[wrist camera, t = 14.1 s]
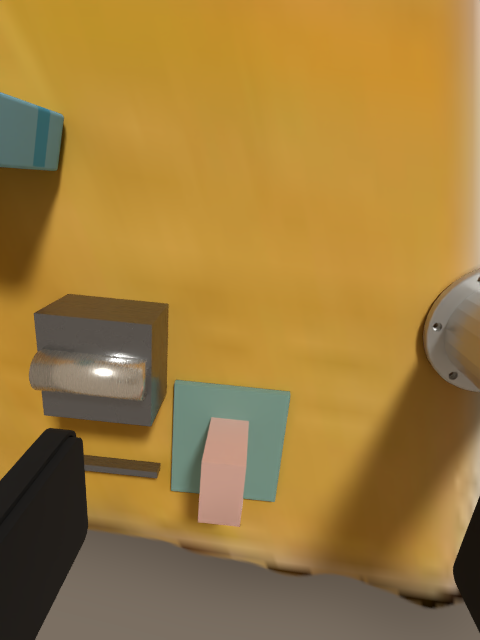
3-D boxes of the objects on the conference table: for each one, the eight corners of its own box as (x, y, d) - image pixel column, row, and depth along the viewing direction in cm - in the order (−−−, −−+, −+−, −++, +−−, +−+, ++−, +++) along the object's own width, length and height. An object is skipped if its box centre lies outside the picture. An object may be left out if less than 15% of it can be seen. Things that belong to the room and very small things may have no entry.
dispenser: (168, 303, 37) (144, 334, 30) (164, 469, 44) (144, 529, 36) (68, 294, 38) (17, 322, 30) (79, 460, 44) (41, 518, 37)
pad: (289, 391, 40) (290, 395, 39) (274, 496, 45) (274, 501, 44) (176, 379, 40) (174, 383, 39) (172, 485, 45) (171, 490, 44)
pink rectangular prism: (249, 421, 40) (246, 467, 34) (243, 474, 43) (240, 526, 36) (211, 417, 40) (200, 462, 34) (207, 470, 43) (197, 522, 36)
